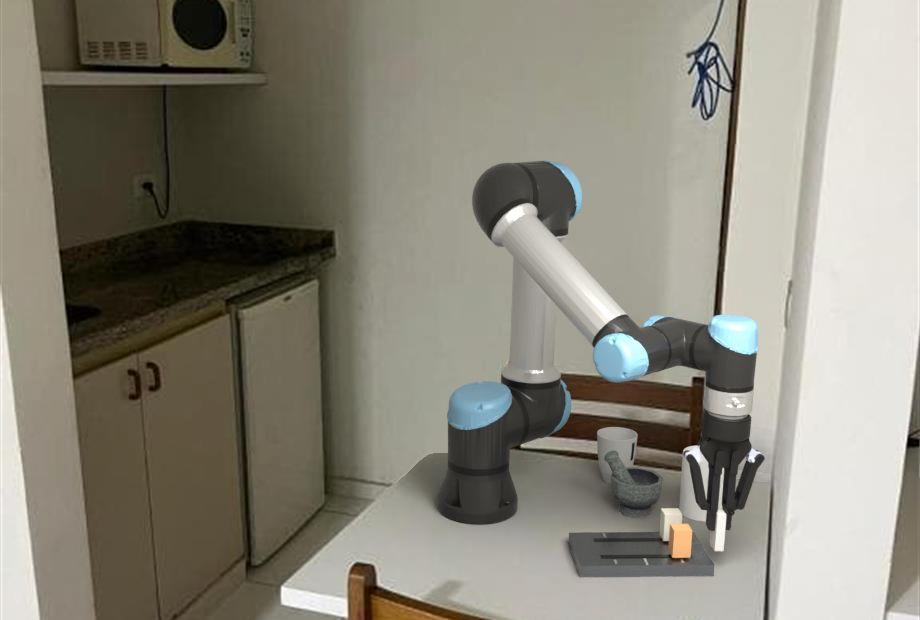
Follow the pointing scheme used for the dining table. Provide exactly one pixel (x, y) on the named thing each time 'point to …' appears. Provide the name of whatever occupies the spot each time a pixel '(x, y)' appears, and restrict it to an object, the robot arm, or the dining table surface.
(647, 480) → the mortar and pestle
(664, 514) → the fader
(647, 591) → the dining table surface
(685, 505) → the mug
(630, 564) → the console
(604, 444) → the cup
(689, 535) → the fader
